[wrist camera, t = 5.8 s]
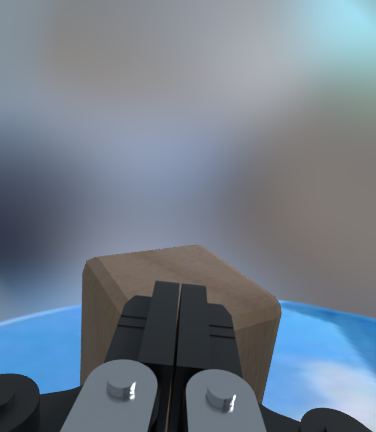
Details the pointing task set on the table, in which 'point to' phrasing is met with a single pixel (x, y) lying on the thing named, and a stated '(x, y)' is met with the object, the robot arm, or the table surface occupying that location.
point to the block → (179, 273)
